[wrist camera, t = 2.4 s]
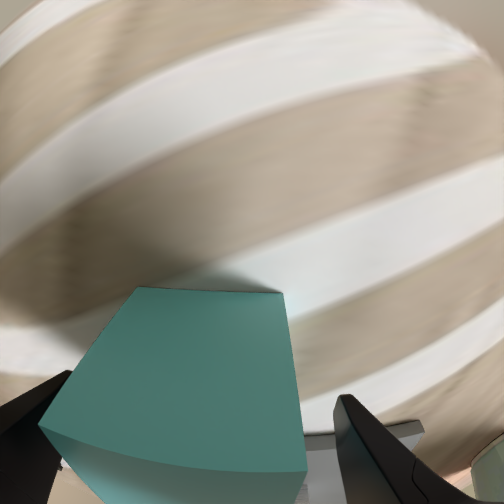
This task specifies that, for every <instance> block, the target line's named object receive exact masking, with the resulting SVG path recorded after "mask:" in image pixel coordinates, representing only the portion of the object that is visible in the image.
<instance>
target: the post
mask: <svg viewBox="0 0 504 504" xmlns="http://www.w3.org/2000/svg"><path fill="white" fill-rule="evenodd" d="M294 504H309V495H308V486H307V485H302V487H301V489H300V491H299V493H298V496H297V498H296V500H295V502H294Z"/></svg>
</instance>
